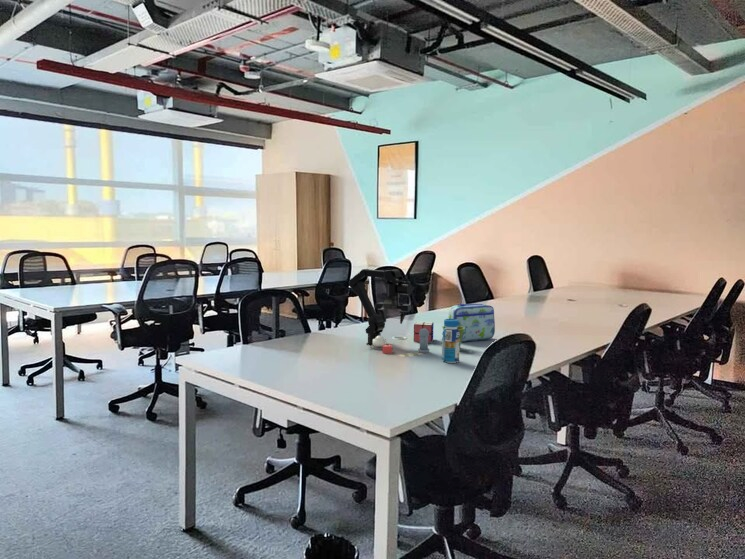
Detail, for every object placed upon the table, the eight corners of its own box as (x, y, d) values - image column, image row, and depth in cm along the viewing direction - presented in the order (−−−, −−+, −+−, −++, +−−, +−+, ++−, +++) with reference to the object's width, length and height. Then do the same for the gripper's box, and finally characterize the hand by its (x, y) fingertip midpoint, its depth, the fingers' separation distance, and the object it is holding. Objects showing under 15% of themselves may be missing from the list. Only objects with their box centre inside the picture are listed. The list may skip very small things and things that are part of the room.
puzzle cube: (431, 343, 299) (431, 325, 298) (413, 342, 301) (413, 324, 300) (433, 339, 309) (433, 322, 308) (415, 338, 311) (416, 321, 310)
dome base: (367, 350, 277) (367, 346, 277) (375, 347, 285) (375, 343, 285) (383, 352, 273) (383, 348, 273) (390, 349, 281) (390, 345, 281)
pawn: (417, 353, 268) (418, 329, 267) (418, 350, 274) (418, 327, 273) (429, 353, 267) (429, 329, 266) (429, 351, 273) (429, 327, 272)
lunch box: (454, 343, 299) (455, 305, 297) (446, 339, 309) (446, 303, 307) (496, 340, 307) (497, 304, 305) (486, 337, 317) (487, 301, 315)
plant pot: (438, 349, 283) (438, 328, 282) (446, 345, 293) (446, 324, 292) (460, 351, 278) (460, 330, 276) (467, 347, 288) (467, 326, 287)
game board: (403, 361, 257) (403, 358, 256) (390, 357, 265) (390, 354, 264) (438, 355, 269) (438, 352, 269) (424, 351, 278) (424, 349, 277)
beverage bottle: (438, 360, 259) (439, 318, 257) (453, 358, 263) (454, 317, 261) (447, 364, 251) (448, 321, 250) (462, 362, 255) (463, 320, 253)
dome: (370, 345, 278) (370, 336, 277) (376, 343, 284) (376, 333, 283) (382, 347, 274) (382, 337, 274) (388, 344, 281) (388, 335, 280)
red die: (382, 355, 268) (382, 346, 267) (383, 353, 272) (383, 344, 272) (391, 355, 267) (391, 346, 267) (392, 353, 272) (392, 344, 271)
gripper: (370, 293, 281) (370, 323, 283) (403, 296, 273) (403, 326, 274) (380, 291, 291) (379, 320, 293) (412, 294, 283) (411, 323, 284)
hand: (393, 322), depth 286 cm, fingers open, 9 cm apart
